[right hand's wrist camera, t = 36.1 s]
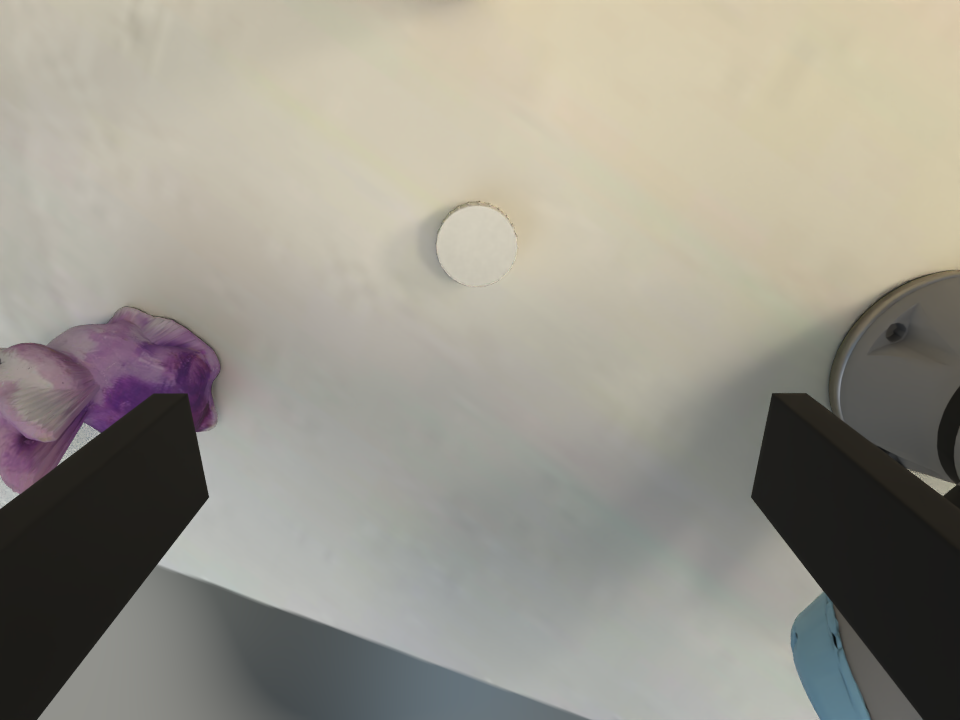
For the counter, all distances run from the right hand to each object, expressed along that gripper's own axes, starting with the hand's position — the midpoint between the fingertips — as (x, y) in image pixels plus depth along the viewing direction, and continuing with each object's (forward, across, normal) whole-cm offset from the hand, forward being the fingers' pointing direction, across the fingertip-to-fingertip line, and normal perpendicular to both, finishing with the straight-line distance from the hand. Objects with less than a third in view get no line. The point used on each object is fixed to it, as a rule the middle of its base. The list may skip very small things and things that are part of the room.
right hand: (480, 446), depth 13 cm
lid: (+26, 0, 0) cm, 27 cm away
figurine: (+28, +25, +9) cm, 39 cm away
